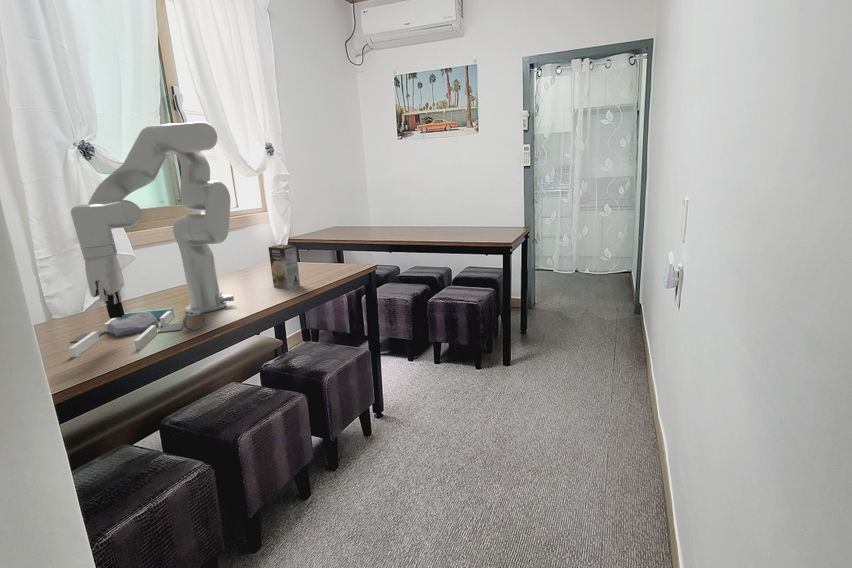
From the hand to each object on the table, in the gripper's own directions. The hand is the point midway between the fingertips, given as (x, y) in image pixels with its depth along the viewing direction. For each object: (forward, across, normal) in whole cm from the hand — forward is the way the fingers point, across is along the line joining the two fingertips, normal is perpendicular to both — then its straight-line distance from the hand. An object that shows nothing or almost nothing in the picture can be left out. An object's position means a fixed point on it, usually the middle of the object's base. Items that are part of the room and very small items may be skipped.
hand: (117, 316), depth 128 cm
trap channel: (+7, -5, -1) cm, 9 cm away
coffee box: (+10, -48, +41) cm, 64 cm away
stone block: (+8, -10, -1) cm, 13 cm away
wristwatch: (+8, -4, +18) cm, 20 cm away
